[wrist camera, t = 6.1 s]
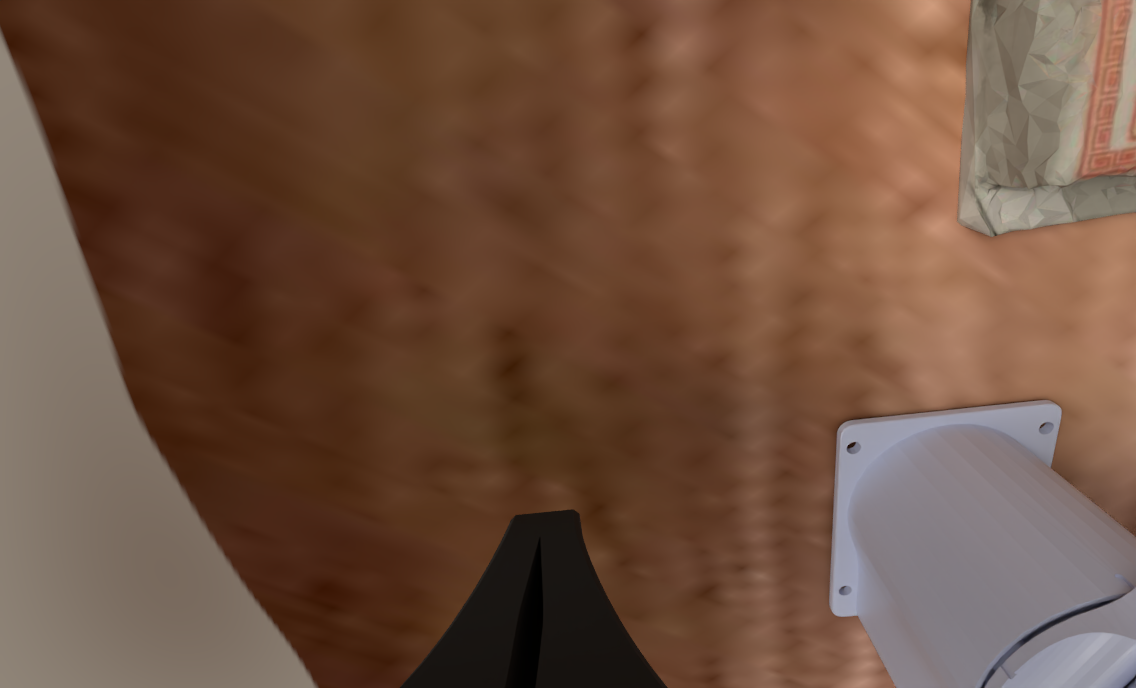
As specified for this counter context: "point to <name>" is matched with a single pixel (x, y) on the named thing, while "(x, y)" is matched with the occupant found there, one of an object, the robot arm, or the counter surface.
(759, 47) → the counter surface
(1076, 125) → the packaged product
